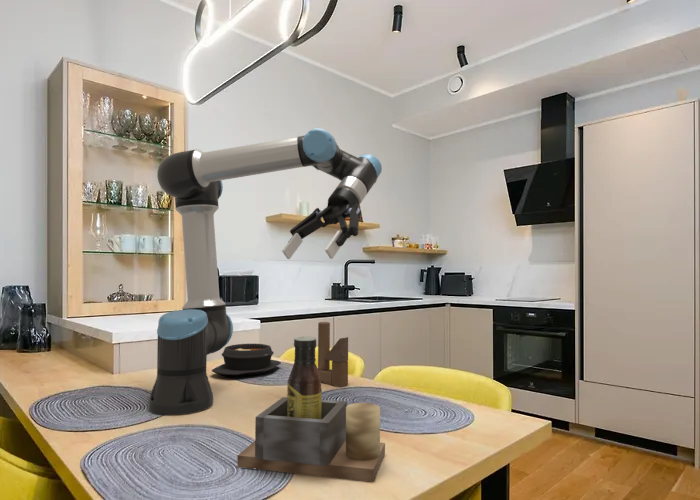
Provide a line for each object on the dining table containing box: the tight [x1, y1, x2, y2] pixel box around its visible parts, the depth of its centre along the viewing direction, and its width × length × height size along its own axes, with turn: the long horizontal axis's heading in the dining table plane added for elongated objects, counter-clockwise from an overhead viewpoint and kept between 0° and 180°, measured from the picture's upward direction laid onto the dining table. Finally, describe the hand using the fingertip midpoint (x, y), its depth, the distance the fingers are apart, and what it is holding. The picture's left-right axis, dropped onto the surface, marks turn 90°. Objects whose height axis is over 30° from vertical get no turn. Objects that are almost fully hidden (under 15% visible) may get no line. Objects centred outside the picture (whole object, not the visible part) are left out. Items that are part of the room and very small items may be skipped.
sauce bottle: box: [286, 336, 323, 419], centre depth 86 cm, size 7×6×20 cm
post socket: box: [236, 396, 386, 483], centre depth 86 cm, size 24×13×10 cm, turn 77°
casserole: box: [211, 343, 282, 376], centre depth 158 cm, size 25×19×8 cm
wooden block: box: [317, 321, 349, 388], centre depth 143 cm, size 4×11×18 cm, turn 47°
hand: (306, 254), depth 110 cm, fingers open, 13 cm apart
